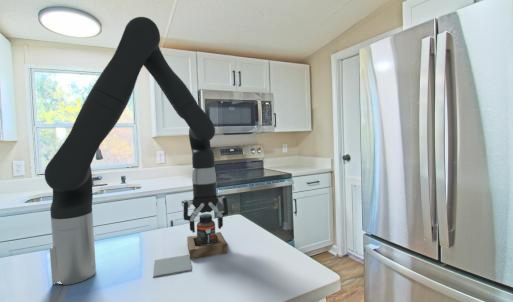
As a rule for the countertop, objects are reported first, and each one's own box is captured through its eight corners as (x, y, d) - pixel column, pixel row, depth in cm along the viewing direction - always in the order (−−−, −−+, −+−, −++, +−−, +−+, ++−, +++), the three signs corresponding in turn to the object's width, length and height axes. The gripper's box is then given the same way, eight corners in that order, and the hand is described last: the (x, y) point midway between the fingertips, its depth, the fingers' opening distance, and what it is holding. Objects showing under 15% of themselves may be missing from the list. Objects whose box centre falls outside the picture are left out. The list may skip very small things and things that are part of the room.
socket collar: (190, 259, 82) (189, 249, 82) (187, 245, 93) (187, 236, 93) (227, 253, 85) (227, 244, 85) (220, 240, 96) (220, 232, 96)
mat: (153, 277, 72) (153, 276, 72) (154, 261, 81) (154, 260, 81) (191, 270, 75) (191, 269, 75) (188, 255, 84) (188, 254, 84)
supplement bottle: (214, 252, 86) (212, 218, 86) (195, 253, 86) (194, 218, 86) (217, 245, 92) (216, 212, 91) (199, 245, 92) (198, 213, 92)
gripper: (182, 185, 82) (185, 237, 83) (228, 180, 87) (230, 230, 88) (181, 181, 89) (183, 229, 90) (223, 177, 94) (225, 223, 95)
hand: (206, 229), depth 89 cm, fingers open, 8 cm apart
